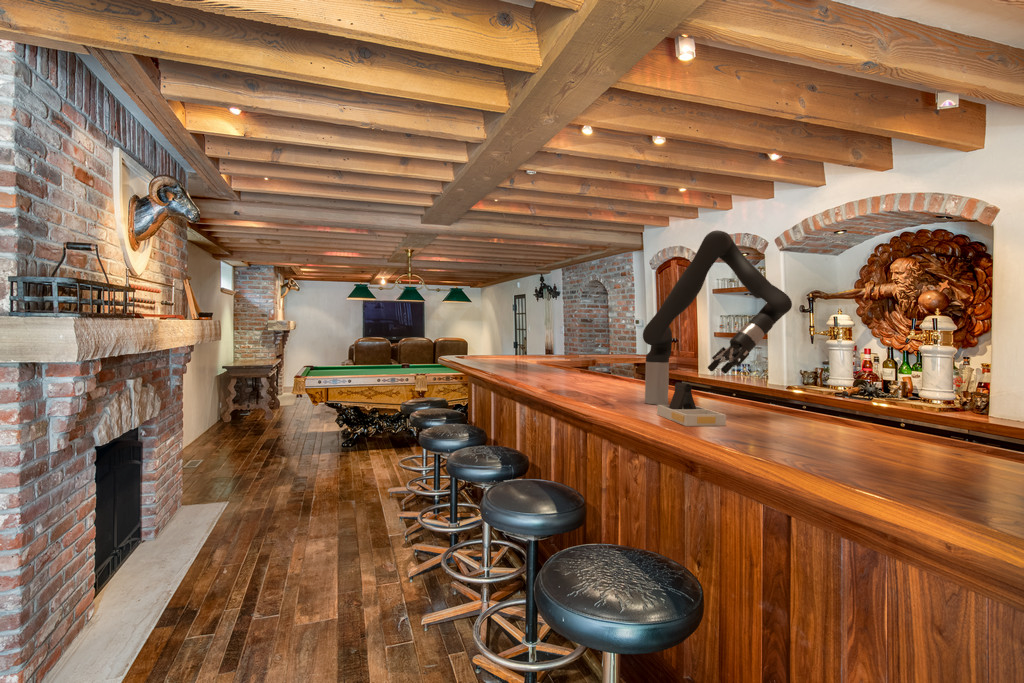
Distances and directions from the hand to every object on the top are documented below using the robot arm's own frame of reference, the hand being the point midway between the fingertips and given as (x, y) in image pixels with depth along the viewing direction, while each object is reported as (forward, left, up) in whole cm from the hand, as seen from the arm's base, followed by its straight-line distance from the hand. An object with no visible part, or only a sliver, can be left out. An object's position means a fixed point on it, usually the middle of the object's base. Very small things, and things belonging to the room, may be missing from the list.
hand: (716, 370), depth 171 cm
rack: (+5, -12, -16) cm, 21 cm away
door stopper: (0, -12, -17) cm, 21 cm away
